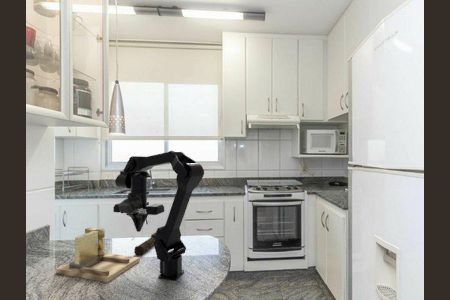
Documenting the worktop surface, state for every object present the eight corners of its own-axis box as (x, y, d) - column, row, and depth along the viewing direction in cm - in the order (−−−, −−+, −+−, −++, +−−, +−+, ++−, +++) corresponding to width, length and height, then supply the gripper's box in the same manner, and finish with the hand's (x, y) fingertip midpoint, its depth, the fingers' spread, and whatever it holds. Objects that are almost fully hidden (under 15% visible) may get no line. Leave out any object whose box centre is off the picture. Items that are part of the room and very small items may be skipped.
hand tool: (142, 256, 98) (142, 244, 98) (133, 255, 98) (134, 244, 99) (164, 241, 116) (164, 231, 116) (156, 240, 117) (156, 230, 117)
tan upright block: (110, 256, 93) (110, 229, 94) (84, 269, 82) (85, 238, 83) (95, 254, 95) (96, 227, 96) (69, 267, 84) (69, 236, 85)
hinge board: (139, 261, 92) (139, 229, 93) (108, 282, 77) (108, 244, 77) (93, 255, 99) (94, 225, 99) (56, 273, 83) (56, 237, 84)
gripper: (102, 191, 86) (101, 236, 85) (147, 193, 80) (147, 240, 80) (123, 187, 97) (123, 227, 96) (165, 189, 91) (165, 231, 91)
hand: (138, 231), depth 90 cm, fingers closed
